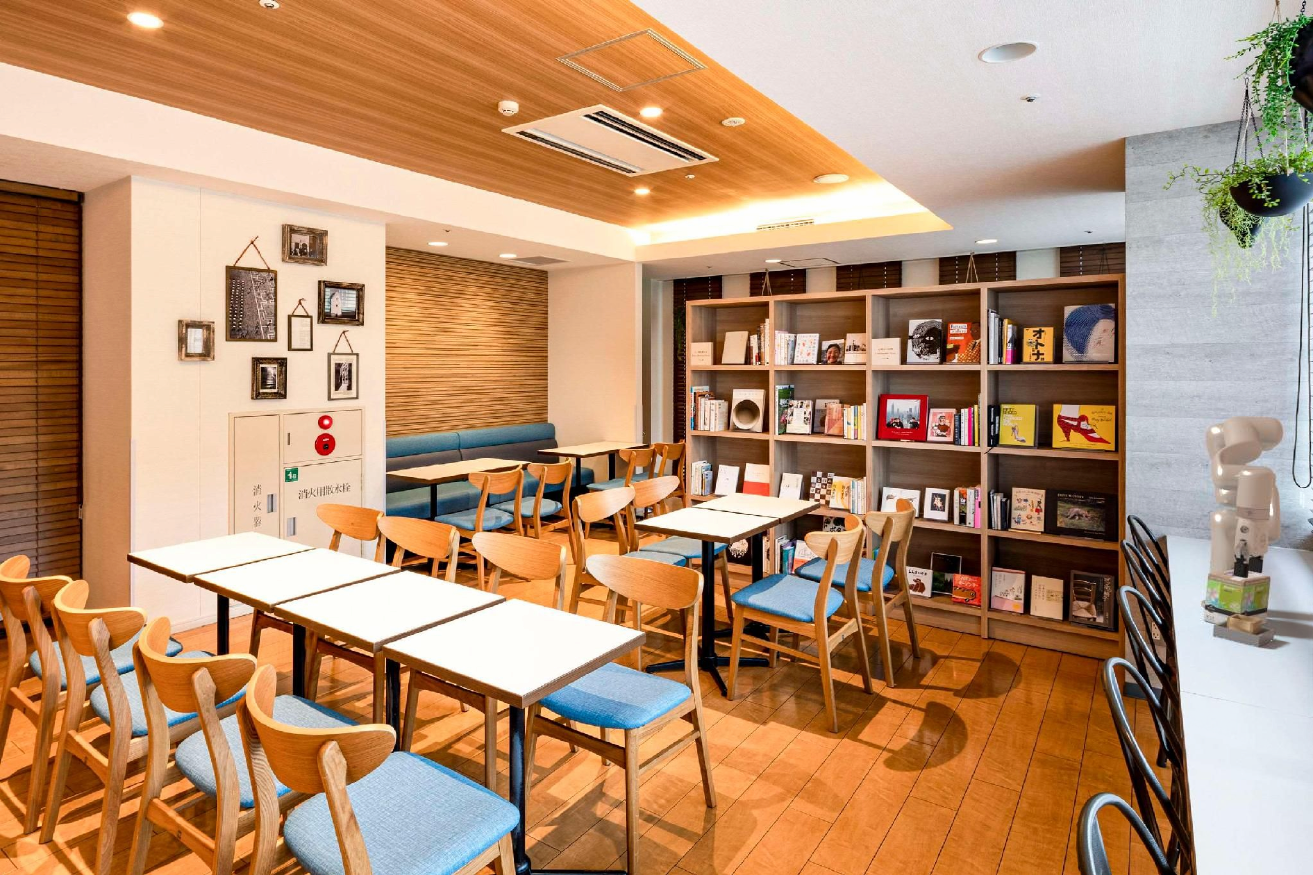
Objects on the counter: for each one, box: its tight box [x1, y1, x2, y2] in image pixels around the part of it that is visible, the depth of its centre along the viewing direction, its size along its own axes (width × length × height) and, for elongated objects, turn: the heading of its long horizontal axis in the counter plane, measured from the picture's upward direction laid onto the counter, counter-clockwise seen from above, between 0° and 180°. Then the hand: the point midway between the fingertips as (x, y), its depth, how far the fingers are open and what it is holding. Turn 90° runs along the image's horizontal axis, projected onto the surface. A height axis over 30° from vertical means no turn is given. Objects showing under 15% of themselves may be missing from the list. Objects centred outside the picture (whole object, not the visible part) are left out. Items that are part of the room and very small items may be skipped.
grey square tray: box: [1212, 620, 1275, 648], centre depth 213 cm, size 11×11×3 cm
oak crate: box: [1227, 614, 1263, 635], centre depth 213 cm, size 6×6×5 cm
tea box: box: [1203, 569, 1271, 625], centre depth 226 cm, size 15×10×15 cm
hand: (1247, 574), depth 212 cm, fingers open, 9 cm apart
